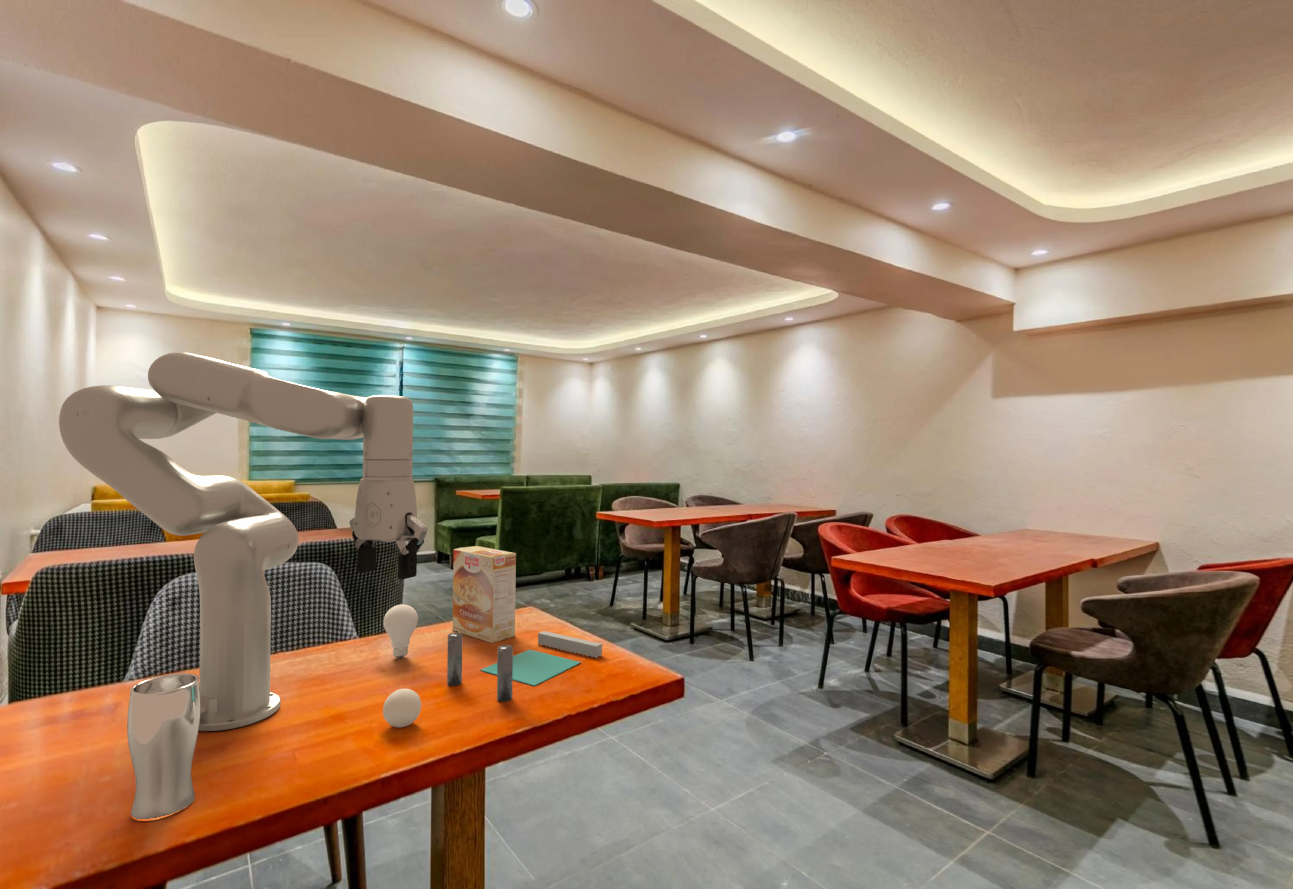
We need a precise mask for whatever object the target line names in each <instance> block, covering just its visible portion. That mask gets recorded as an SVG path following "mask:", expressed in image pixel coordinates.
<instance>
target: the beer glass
mask: <svg viewBox="0 0 1293 889" xmlns="http://www.w3.org/2000/svg"><path fill="white" fill-rule="evenodd" d="M199 683H200V676H199V675H198V674H194V673H191V672H190V673H186V672H182V673H181V672H180V673H171V674H165V675H161V676H160V675H159V676H156V677H152V678H149V679H146V680H143V681H140V682H138V683H136V684H134V685H133V686H131V688H130V689H129V701H128V710H127V718H126V719H127V723H126V728H127V729H126V731H127V732H126V733H127V734H126V735H127V742H128V749H129V750H128V751H129V755H130V758H131V763H132V768H133V772H134V777H135V792H134V798H133V803H132V807H131V811H130V816H131V815H132V816H133V817H134V818H136V819H150V818H157V817H161V816H165V815H169V814H172V813H175V812H177V811H179V810H182V809H184V808H185V807H187V806H189V805H190V804H191V803H192V802H195V800H196V794H195V788H194V784H193V779H192V765H193V760H194V753H195V750H196V744H197V741H198V736H199V725H200V713H201V704H200V689H199ZM192 804H193V803H192ZM192 804H191V805H192ZM191 805H190V806H191ZM190 806H189V807H190ZM187 808H188V807H187ZM184 810H185V809H184Z"/></svg>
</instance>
